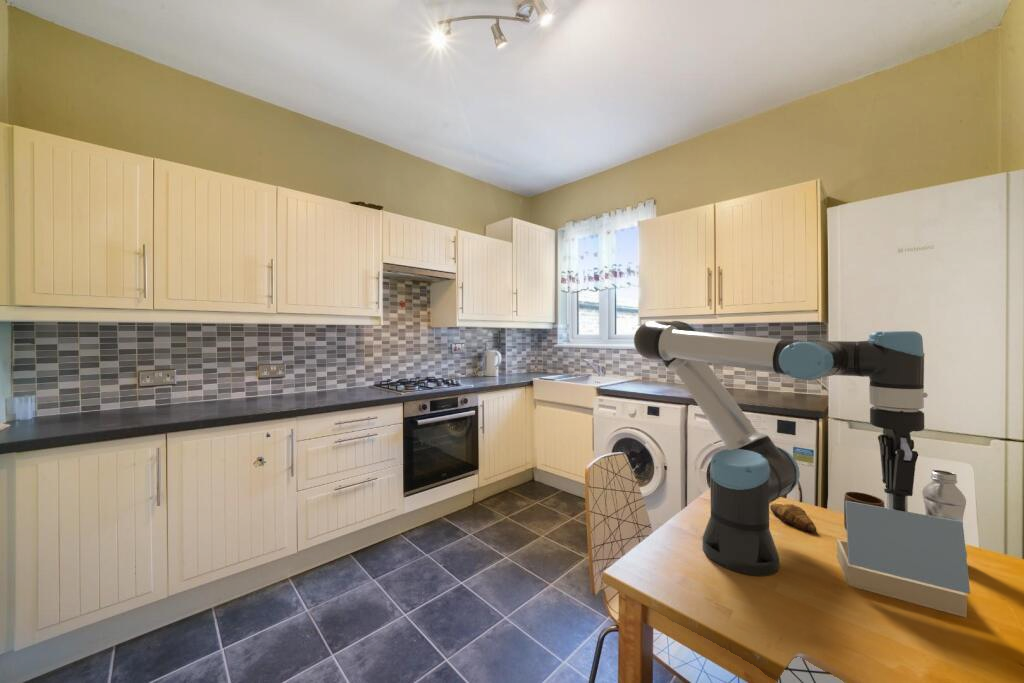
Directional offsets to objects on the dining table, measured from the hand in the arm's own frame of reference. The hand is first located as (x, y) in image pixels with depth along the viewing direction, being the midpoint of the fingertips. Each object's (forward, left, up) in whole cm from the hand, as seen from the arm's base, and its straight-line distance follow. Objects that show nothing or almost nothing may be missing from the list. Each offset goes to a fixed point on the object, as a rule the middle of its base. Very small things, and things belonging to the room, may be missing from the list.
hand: (897, 525), depth 73 cm
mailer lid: (0, -2, -2) cm, 3 cm away
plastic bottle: (+12, +19, -13) cm, 26 cm away
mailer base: (0, +2, -13) cm, 13 cm away
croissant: (-15, +23, -14) cm, 31 cm away
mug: (+1, +23, -13) cm, 27 cm away
